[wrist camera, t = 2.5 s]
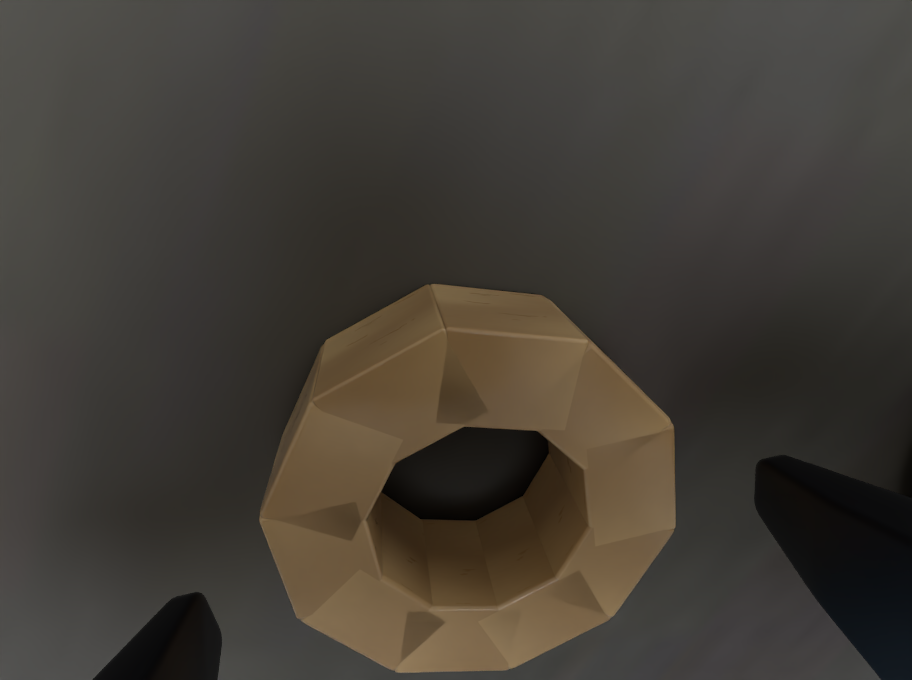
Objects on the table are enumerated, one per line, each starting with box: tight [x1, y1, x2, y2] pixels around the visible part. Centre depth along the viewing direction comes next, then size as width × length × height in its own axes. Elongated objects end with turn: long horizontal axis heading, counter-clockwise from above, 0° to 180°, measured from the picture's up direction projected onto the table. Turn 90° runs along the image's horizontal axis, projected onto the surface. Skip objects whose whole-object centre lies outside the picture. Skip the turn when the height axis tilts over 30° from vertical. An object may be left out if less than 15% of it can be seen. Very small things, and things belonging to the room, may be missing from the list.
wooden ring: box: [259, 284, 676, 673], centre depth 10 cm, size 7×7×2 cm
